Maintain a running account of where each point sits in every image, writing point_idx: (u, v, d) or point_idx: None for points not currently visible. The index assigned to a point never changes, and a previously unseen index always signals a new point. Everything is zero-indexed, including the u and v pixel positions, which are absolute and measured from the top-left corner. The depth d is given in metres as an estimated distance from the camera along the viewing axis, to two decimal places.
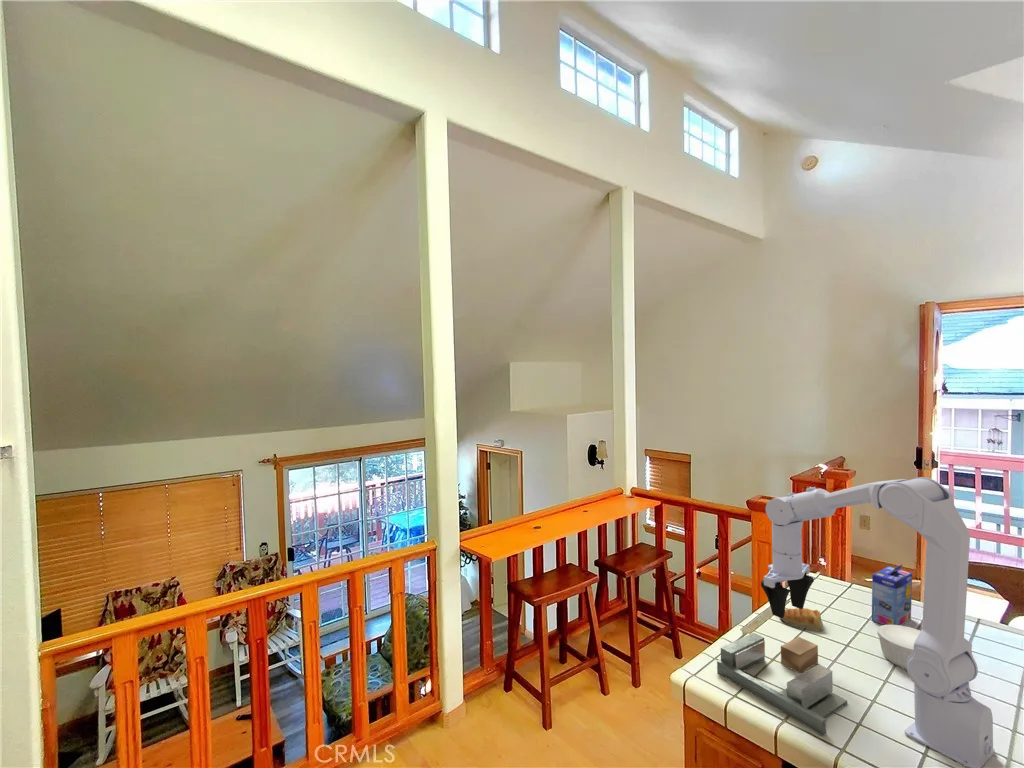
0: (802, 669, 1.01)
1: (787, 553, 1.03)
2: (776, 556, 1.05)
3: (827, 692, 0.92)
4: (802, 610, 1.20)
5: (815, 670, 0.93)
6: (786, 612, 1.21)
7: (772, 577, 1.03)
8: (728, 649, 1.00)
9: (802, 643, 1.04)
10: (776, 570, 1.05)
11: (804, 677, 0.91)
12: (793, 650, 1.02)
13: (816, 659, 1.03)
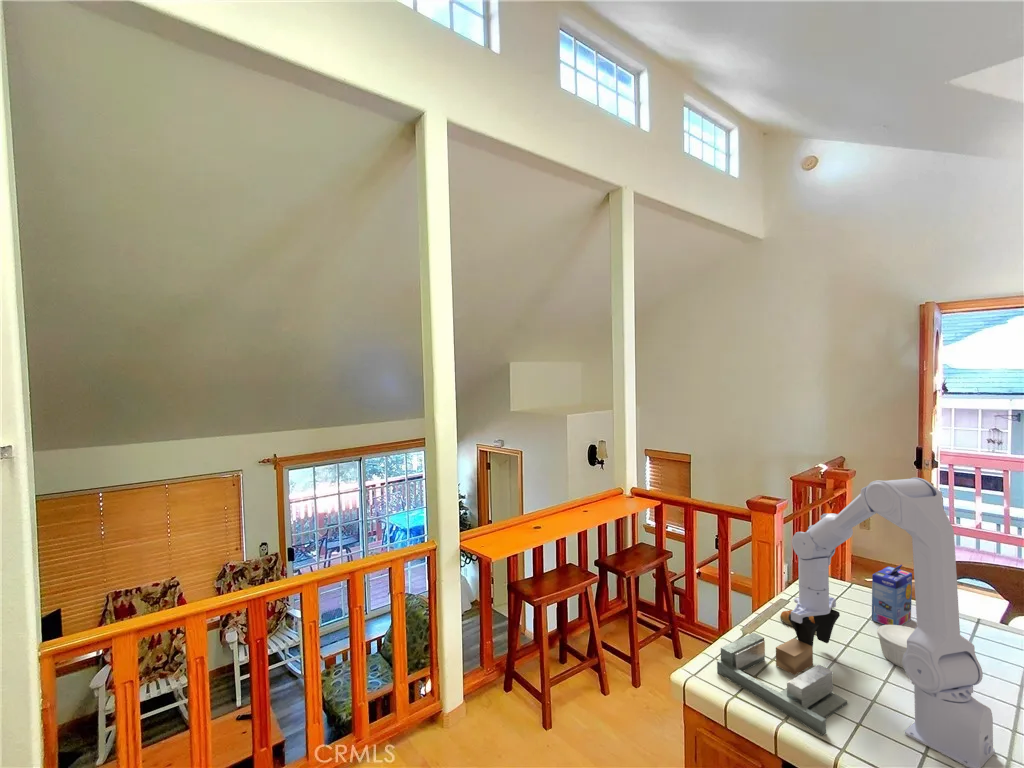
0: (797, 671, 1.00)
1: (811, 588, 1.04)
2: (802, 591, 1.06)
3: (827, 692, 0.92)
4: None
5: (815, 670, 0.93)
6: (787, 614, 1.20)
7: (799, 612, 1.03)
8: (728, 649, 1.00)
9: (797, 644, 1.03)
10: (803, 604, 1.06)
11: (804, 677, 0.91)
12: (788, 651, 1.01)
13: (811, 660, 1.02)
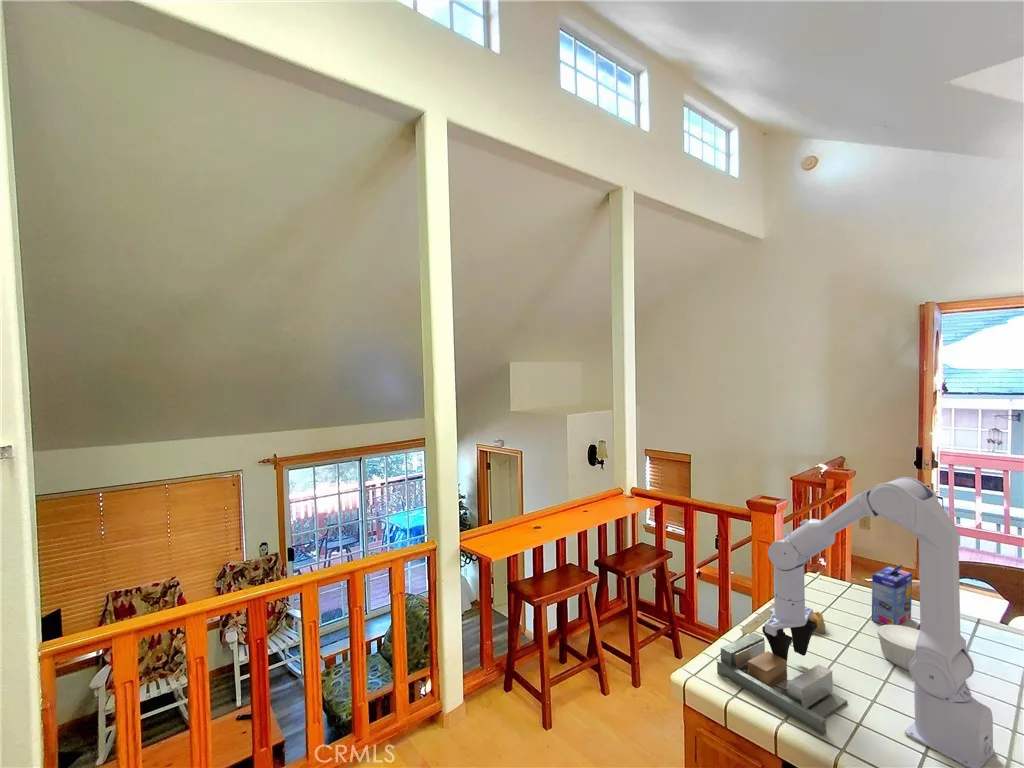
0: (769, 686, 0.95)
1: (792, 599, 0.99)
2: (777, 601, 1.01)
3: (827, 692, 0.92)
4: None
5: (815, 670, 0.93)
6: None
7: (774, 624, 0.99)
8: (728, 649, 1.00)
9: (771, 658, 0.99)
10: (778, 616, 1.01)
11: (804, 677, 0.91)
12: (760, 666, 0.96)
13: (784, 675, 0.97)
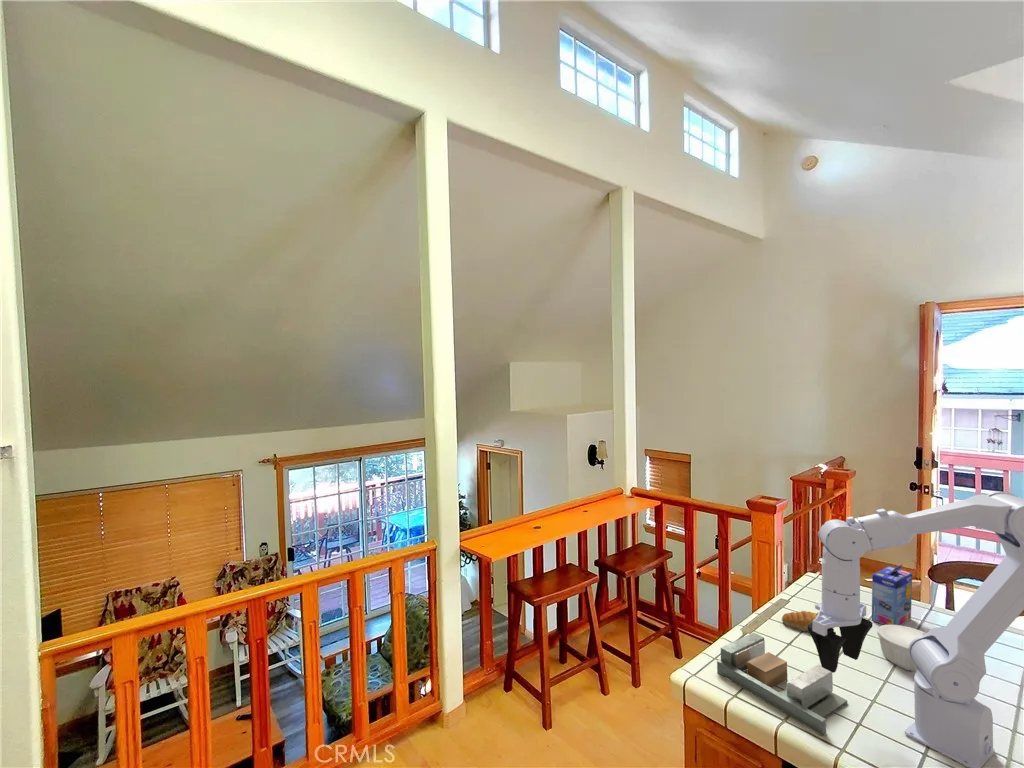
0: None
1: (855, 593, 0.83)
2: (827, 595, 0.85)
3: (827, 692, 0.92)
4: (805, 613, 1.18)
5: (815, 670, 0.93)
6: (789, 616, 1.19)
7: (823, 622, 0.83)
8: (728, 649, 1.00)
9: (771, 659, 0.99)
10: (827, 612, 0.85)
11: (804, 677, 0.91)
12: (760, 666, 0.96)
13: (785, 676, 0.97)
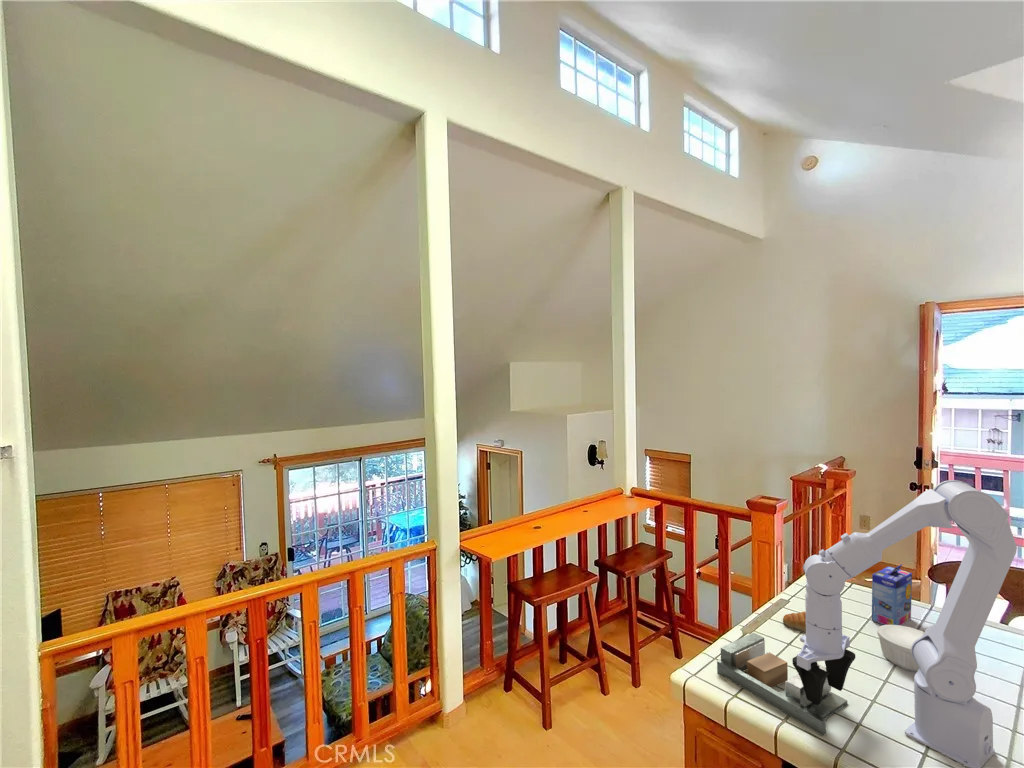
0: None
1: (835, 627, 0.86)
2: (810, 629, 0.88)
3: (825, 691, 0.92)
4: None
5: None
6: (790, 617, 1.19)
7: (807, 656, 0.86)
8: (728, 649, 1.00)
9: (771, 659, 0.99)
10: (811, 645, 0.88)
11: None
12: (759, 666, 0.96)
13: (785, 677, 0.97)
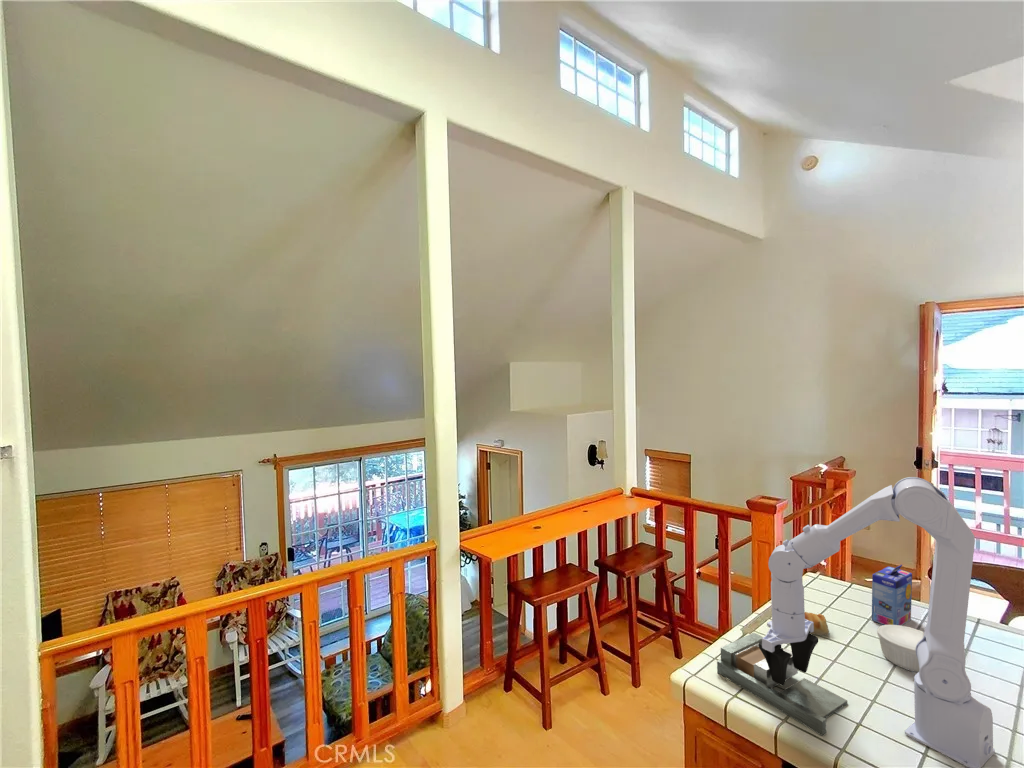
0: None
1: (796, 612, 0.92)
2: (775, 614, 0.94)
3: (792, 674, 0.97)
4: (807, 615, 1.18)
5: None
6: None
7: (771, 639, 0.91)
8: (728, 649, 1.00)
9: (761, 654, 1.00)
10: (776, 630, 0.94)
11: None
12: (750, 661, 0.98)
13: None
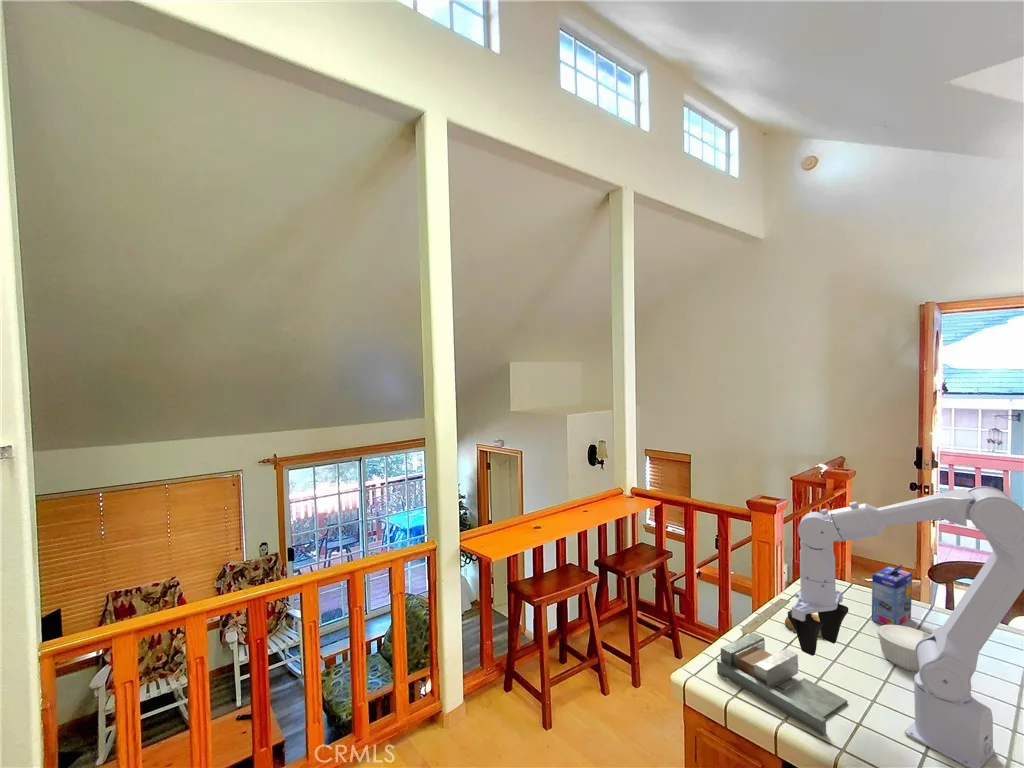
0: None
1: (827, 580, 0.89)
2: (805, 583, 0.91)
3: (792, 674, 0.97)
4: None
5: (781, 653, 0.98)
6: None
7: (802, 608, 0.88)
8: (728, 649, 1.00)
9: (761, 654, 1.00)
10: (805, 599, 0.91)
11: (770, 660, 0.96)
12: (750, 662, 0.98)
13: None
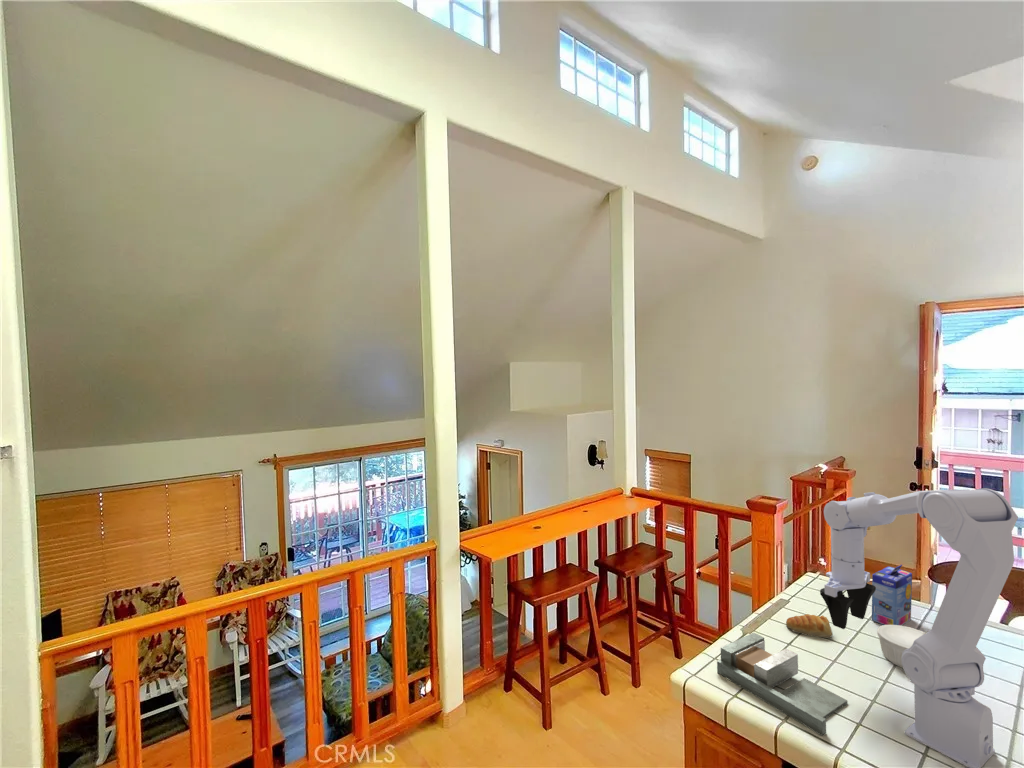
0: None
1: (844, 559, 0.98)
2: (836, 563, 1.00)
3: (792, 674, 0.97)
4: (810, 617, 1.16)
5: (781, 653, 0.98)
6: (794, 620, 1.17)
7: (833, 586, 0.97)
8: (728, 649, 1.00)
9: (761, 654, 1.00)
10: (836, 578, 1.00)
11: (770, 660, 0.96)
12: (750, 662, 0.98)
13: None
